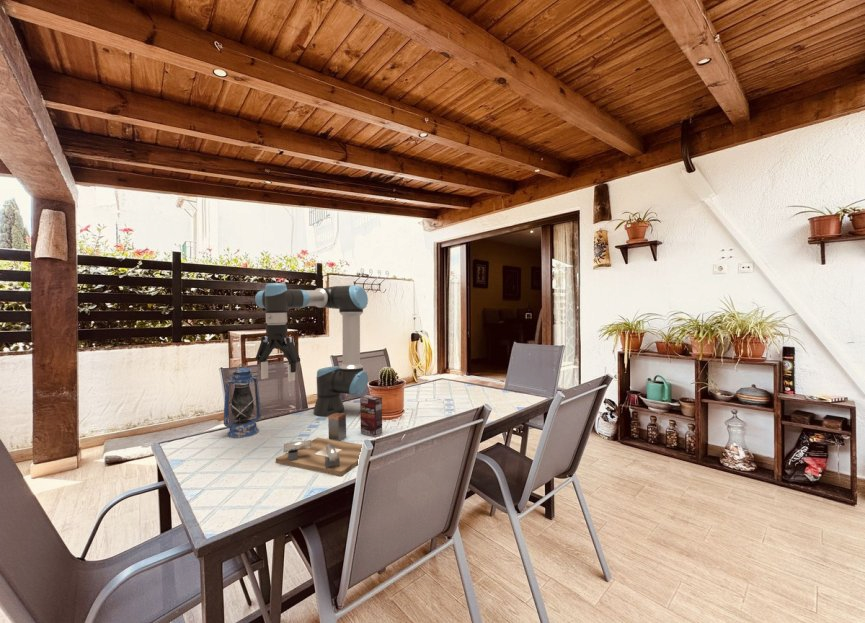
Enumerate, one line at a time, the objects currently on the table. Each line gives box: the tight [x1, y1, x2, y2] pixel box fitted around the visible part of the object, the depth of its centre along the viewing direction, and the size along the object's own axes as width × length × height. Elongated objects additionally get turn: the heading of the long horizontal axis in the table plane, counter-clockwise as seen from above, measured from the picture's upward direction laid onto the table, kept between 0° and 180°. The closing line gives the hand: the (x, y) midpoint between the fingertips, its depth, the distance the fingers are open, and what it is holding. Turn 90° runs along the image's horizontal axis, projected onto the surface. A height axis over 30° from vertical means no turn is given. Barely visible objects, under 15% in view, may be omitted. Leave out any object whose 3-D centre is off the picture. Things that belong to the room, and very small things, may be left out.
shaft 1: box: [283, 439, 312, 461], centre depth 132 cm, size 9×4×5 cm, turn 112°
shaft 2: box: [325, 443, 340, 469], centre depth 126 cm, size 9×4×5 cm, turn 22°
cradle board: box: [275, 437, 363, 477], centre depth 136 cm, size 22×28×2 cm
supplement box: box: [359, 394, 383, 438], centre depth 159 cm, size 9×5×16 cm, turn 58°
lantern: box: [223, 363, 262, 439], centre depth 162 cm, size 15×12×30 cm
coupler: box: [327, 412, 347, 441], centre depth 153 cm, size 5×5×10 cm
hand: (277, 379), depth 142 cm, fingers open, 13 cm apart
